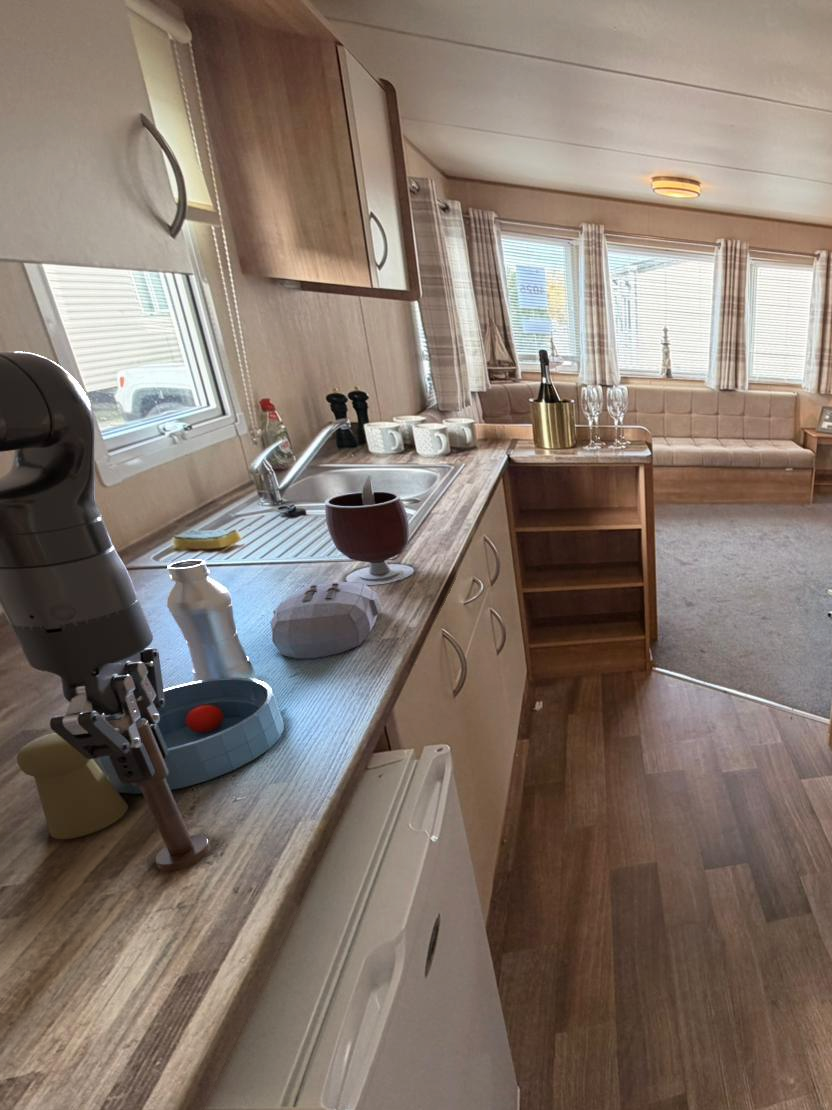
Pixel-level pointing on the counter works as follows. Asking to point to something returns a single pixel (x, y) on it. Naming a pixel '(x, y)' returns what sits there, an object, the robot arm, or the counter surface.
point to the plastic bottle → (207, 623)
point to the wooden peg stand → (167, 810)
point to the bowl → (220, 751)
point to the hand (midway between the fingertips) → (146, 768)
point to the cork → (70, 788)
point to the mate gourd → (370, 532)
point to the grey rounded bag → (324, 619)
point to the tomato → (204, 718)
